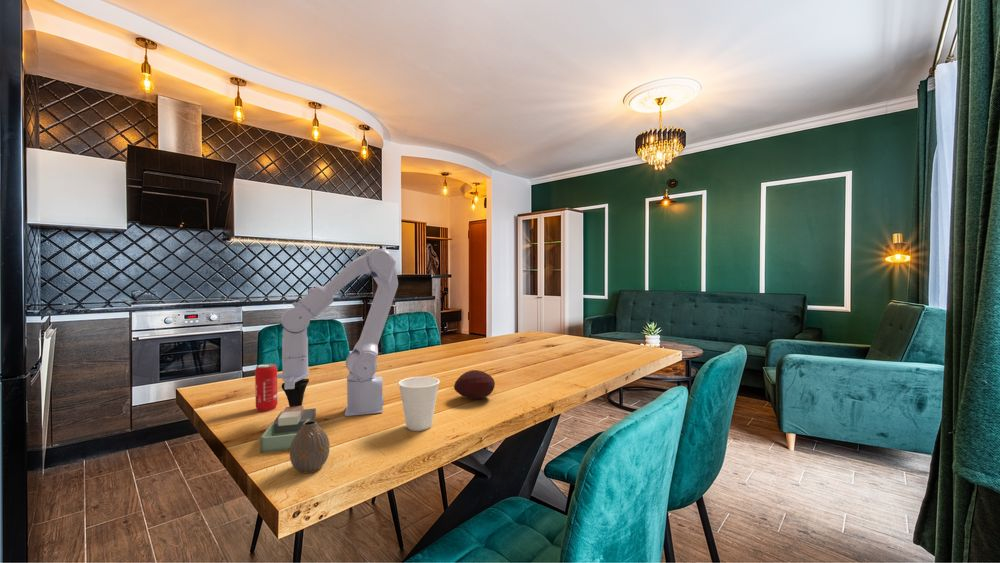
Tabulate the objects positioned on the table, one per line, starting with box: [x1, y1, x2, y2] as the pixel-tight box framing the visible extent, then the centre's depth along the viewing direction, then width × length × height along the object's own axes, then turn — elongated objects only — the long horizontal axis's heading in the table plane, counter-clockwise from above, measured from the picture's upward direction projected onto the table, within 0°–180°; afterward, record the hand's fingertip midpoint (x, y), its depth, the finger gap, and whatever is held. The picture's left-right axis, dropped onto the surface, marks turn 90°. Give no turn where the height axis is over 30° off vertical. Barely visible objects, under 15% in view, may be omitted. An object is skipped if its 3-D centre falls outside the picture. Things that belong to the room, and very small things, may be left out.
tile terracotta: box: [283, 405, 305, 417], centre depth 97 cm, size 4×4×2 cm
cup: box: [397, 376, 440, 432], centre depth 97 cm, size 10×10×11 cm
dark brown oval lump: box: [453, 369, 496, 400], centre depth 119 cm, size 12×11×8 cm
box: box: [259, 419, 310, 454], centre depth 89 cm, size 8×10×3 cm
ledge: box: [273, 407, 317, 433], centre depth 98 cm, size 8×9×2 cm
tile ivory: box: [278, 411, 301, 426], centre depth 93 cm, size 4×4×2 cm
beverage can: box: [254, 363, 279, 412], centre depth 110 cm, size 5×5×12 cm
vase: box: [289, 420, 331, 474], centre depth 77 cm, size 7×7×9 cm
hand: (295, 410), depth 100 cm, fingers closed
